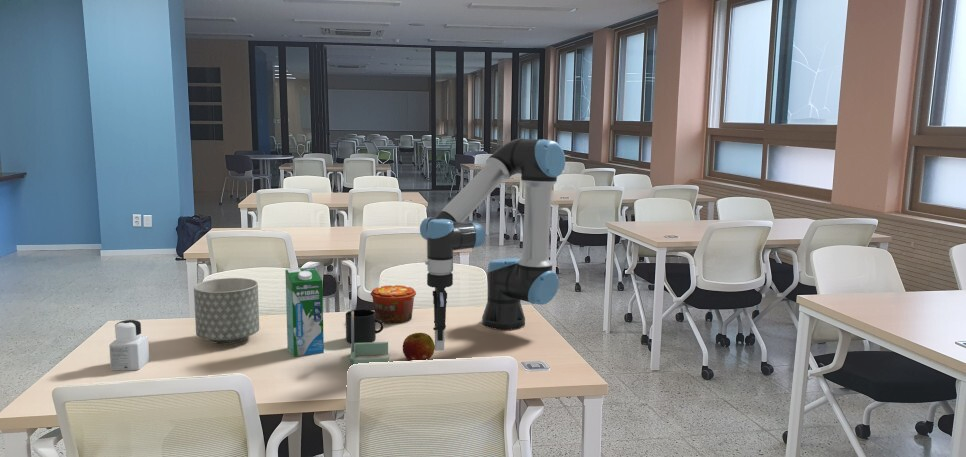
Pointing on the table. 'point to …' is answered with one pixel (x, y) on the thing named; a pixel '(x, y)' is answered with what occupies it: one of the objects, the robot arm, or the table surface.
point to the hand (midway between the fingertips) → (439, 349)
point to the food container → (393, 303)
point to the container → (129, 347)
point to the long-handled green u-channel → (366, 348)
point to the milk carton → (304, 311)
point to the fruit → (418, 346)
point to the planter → (226, 309)
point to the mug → (362, 326)
